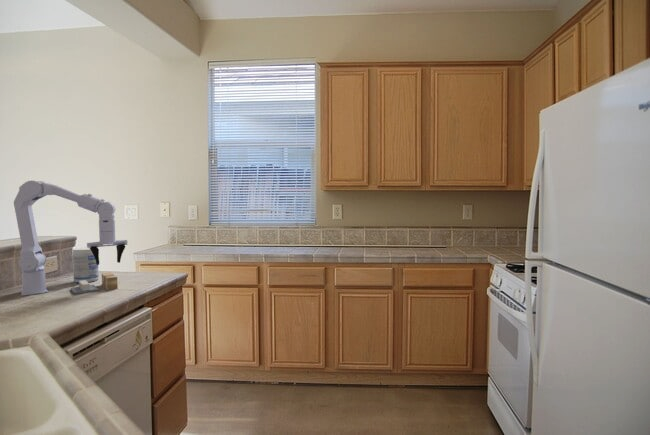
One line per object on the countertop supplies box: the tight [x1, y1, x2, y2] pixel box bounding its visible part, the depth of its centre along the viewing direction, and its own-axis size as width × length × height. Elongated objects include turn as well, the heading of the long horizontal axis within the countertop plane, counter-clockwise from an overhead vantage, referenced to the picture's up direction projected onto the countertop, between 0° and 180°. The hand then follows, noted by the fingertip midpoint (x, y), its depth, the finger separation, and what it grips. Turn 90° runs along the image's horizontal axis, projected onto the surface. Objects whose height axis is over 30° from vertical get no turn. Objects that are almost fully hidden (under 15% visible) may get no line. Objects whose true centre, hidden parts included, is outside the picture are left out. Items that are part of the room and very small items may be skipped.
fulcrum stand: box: [70, 280, 99, 295], centre depth 150 cm, size 10×8×3 cm
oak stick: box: [101, 272, 118, 291], centre depth 156 cm, size 12×3×5 cm, turn 41°
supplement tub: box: [72, 246, 100, 284], centre depth 166 cm, size 10×10×15 cm
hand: (108, 263), depth 155 cm, fingers open, 7 cm apart
